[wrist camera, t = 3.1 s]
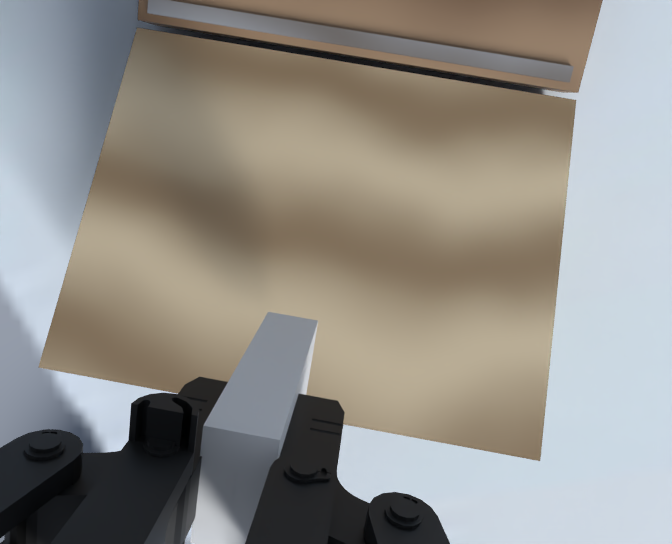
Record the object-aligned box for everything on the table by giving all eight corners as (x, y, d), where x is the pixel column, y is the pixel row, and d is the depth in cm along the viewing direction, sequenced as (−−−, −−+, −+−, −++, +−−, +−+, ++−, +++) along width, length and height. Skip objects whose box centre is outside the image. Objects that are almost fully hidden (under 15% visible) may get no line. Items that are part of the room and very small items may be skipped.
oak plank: (151, 55, 27) (137, 27, 25) (557, 123, 26) (576, 99, 24) (62, 371, 24) (38, 367, 22) (522, 457, 23) (540, 461, 21)
